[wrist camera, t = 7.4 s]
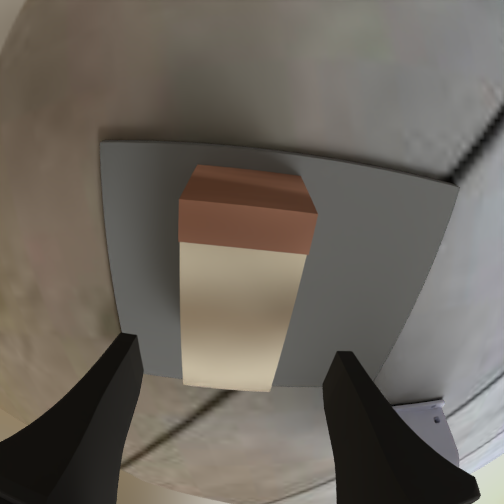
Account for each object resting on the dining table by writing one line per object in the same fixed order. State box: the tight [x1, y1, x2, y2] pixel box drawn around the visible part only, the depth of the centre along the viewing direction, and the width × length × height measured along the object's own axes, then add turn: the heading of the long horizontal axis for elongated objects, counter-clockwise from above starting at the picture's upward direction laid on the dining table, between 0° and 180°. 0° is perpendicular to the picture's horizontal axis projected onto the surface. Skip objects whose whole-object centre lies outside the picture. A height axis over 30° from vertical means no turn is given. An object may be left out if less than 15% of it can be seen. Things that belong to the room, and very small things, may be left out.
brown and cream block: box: [178, 164, 318, 392], centre depth 15 cm, size 10×5×4 cm, turn 173°
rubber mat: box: [100, 140, 460, 387], centre depth 18 cm, size 18×16×1 cm
